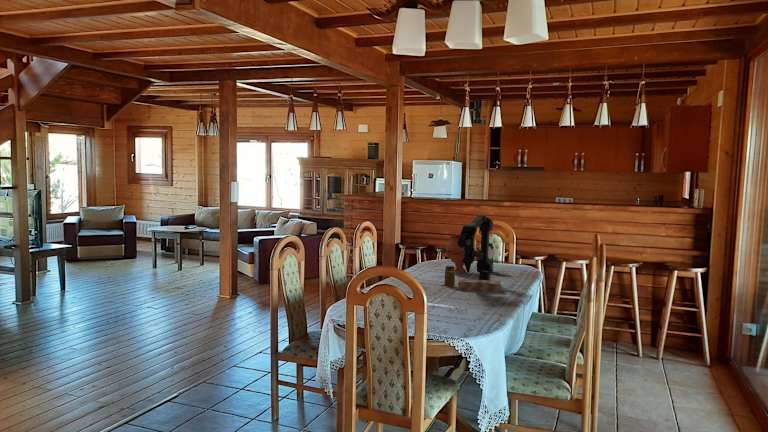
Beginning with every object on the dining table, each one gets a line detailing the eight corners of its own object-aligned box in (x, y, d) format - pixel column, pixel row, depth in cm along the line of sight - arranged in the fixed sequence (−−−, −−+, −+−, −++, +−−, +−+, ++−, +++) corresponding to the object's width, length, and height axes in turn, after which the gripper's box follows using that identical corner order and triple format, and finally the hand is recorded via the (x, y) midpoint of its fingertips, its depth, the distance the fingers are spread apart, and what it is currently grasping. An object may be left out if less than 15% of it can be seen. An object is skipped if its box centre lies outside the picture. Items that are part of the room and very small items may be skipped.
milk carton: (488, 273, 394) (489, 244, 392) (477, 271, 400) (477, 242, 398) (494, 271, 401) (495, 243, 399) (483, 269, 406) (484, 241, 405)
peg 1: (464, 288, 338) (464, 281, 338) (464, 287, 342) (464, 279, 342) (471, 289, 337) (471, 281, 337) (471, 287, 342) (472, 280, 341)
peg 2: (486, 290, 336) (486, 282, 335) (486, 288, 340) (486, 281, 340) (494, 290, 335) (494, 282, 334) (494, 289, 339) (494, 281, 339)
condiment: (457, 286, 348) (458, 266, 347) (446, 287, 344) (447, 267, 343) (449, 284, 354) (450, 264, 353) (439, 285, 350) (439, 266, 349)
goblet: (452, 275, 384) (452, 238, 382) (441, 270, 403) (442, 234, 401) (478, 274, 389) (479, 237, 387) (466, 269, 408) (467, 234, 406)
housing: (458, 290, 337) (458, 281, 336) (459, 287, 345) (459, 278, 345) (499, 292, 332) (500, 283, 332) (499, 289, 341) (500, 281, 340)
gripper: (482, 248, 327) (481, 275, 328) (483, 244, 345) (482, 270, 346) (462, 247, 329) (461, 274, 330) (464, 243, 347) (464, 269, 349)
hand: (468, 272), depth 339 cm, fingers closed
